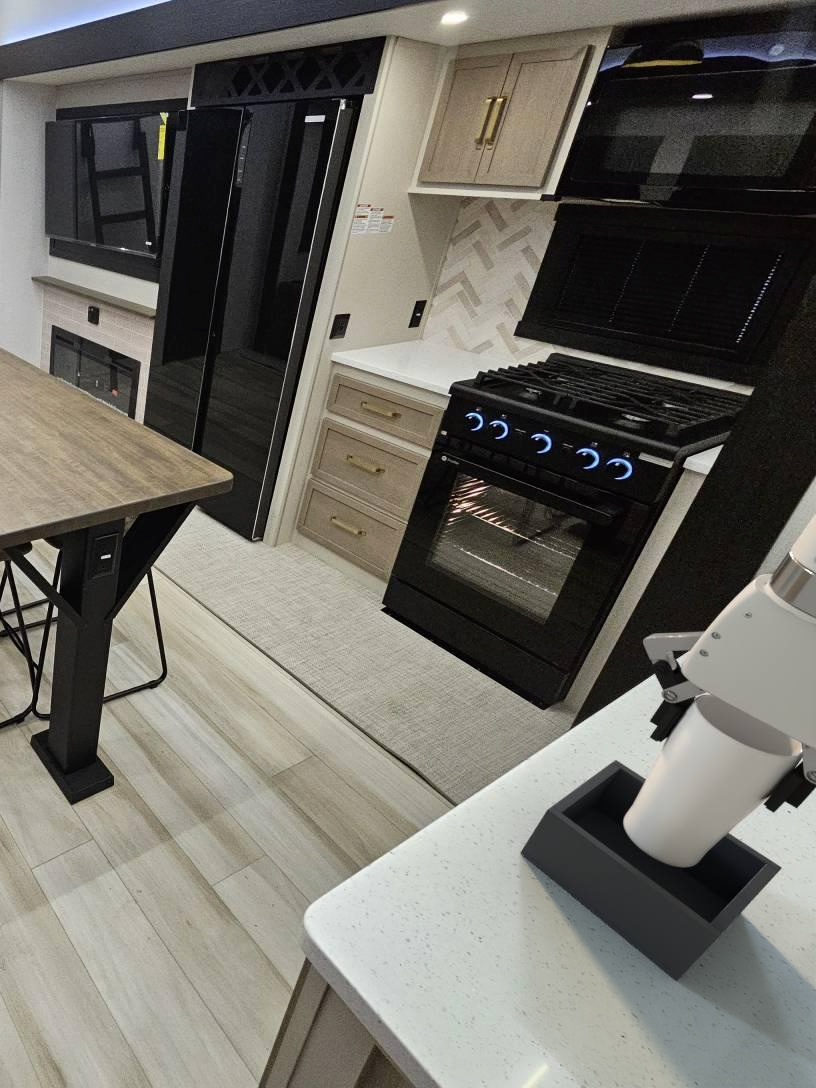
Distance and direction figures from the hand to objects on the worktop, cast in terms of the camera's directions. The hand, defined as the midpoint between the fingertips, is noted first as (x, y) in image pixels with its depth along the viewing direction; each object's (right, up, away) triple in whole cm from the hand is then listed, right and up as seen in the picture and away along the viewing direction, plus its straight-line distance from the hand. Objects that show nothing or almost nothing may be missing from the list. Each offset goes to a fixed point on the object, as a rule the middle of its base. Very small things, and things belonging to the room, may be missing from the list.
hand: (716, 765), depth 57 cm
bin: (-1, -14, +8) cm, 16 cm away
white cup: (0, -9, +5) cm, 10 cm away
